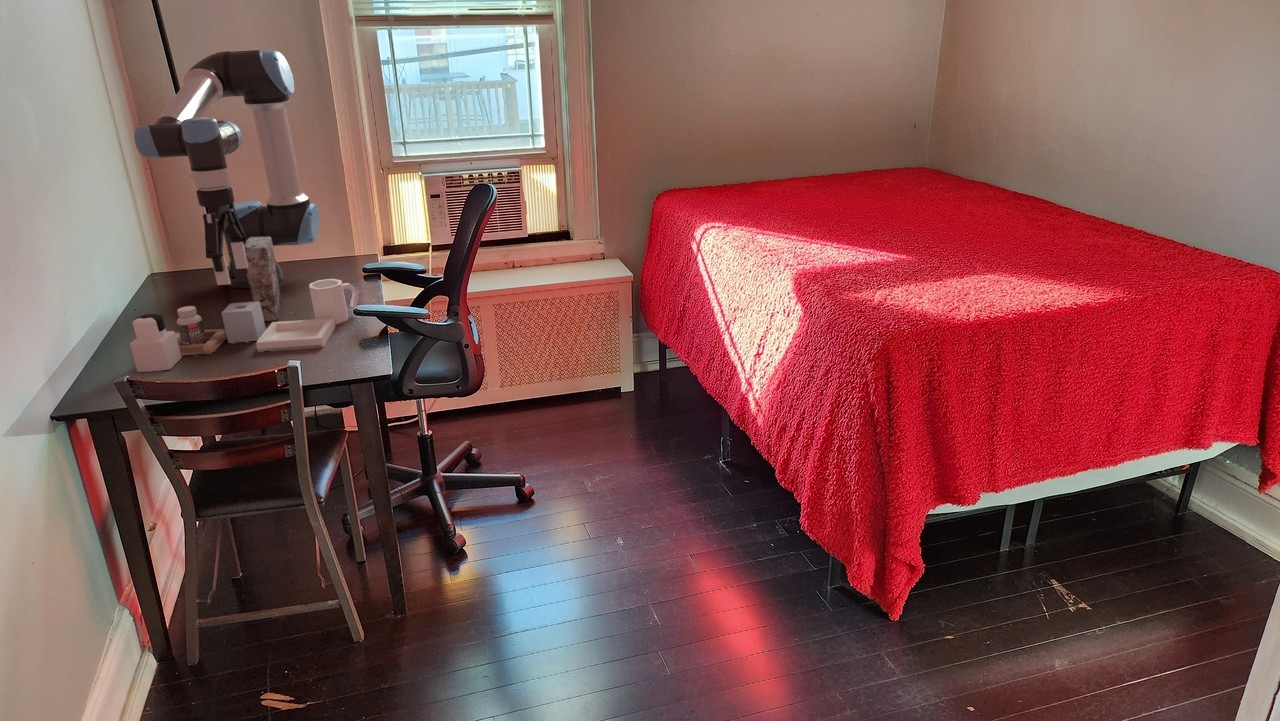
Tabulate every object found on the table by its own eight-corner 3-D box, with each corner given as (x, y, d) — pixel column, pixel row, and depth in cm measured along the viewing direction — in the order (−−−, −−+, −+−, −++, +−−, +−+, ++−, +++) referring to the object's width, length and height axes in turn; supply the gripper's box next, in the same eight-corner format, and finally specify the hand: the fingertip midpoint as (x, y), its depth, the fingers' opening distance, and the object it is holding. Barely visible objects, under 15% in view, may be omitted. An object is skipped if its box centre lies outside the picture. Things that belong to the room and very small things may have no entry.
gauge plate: (179, 339, 208) (177, 331, 207) (229, 335, 209) (227, 328, 208) (159, 357, 197) (157, 350, 196) (213, 354, 198) (211, 346, 197)
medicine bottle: (151, 360, 195) (137, 312, 191) (182, 358, 196) (170, 310, 191) (137, 372, 189) (122, 323, 184) (169, 371, 189) (156, 321, 185)
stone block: (285, 319, 219) (269, 245, 211) (256, 324, 216) (239, 248, 208) (285, 304, 230) (270, 233, 222) (258, 308, 228) (242, 236, 220)
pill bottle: (196, 351, 200) (186, 313, 196) (178, 349, 201) (168, 311, 197) (213, 343, 204) (203, 305, 201) (195, 341, 206) (185, 304, 202)
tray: (274, 331, 211) (272, 322, 210) (335, 327, 212) (333, 318, 211) (257, 352, 198) (255, 342, 197) (323, 347, 200) (321, 338, 199)
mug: (321, 328, 212) (314, 291, 208) (310, 319, 219) (303, 283, 215) (367, 317, 219) (361, 281, 215) (355, 308, 225) (349, 273, 221)
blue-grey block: (237, 333, 210) (230, 303, 207) (266, 331, 211) (259, 301, 208) (228, 343, 204) (221, 312, 201) (258, 341, 205) (251, 310, 202)
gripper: (215, 178, 204) (234, 262, 212) (175, 199, 181) (198, 292, 189) (247, 177, 205) (264, 261, 213) (211, 197, 182) (232, 290, 190)
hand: (233, 276), depth 201 cm, fingers open, 13 cm apart
